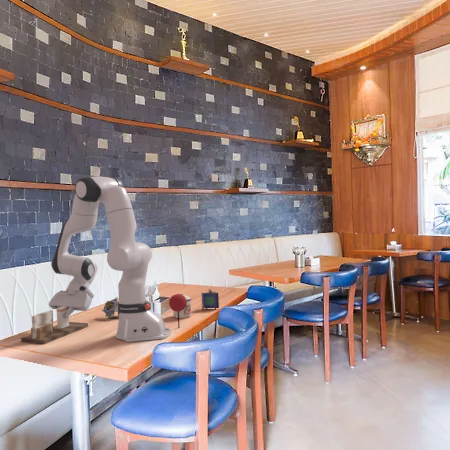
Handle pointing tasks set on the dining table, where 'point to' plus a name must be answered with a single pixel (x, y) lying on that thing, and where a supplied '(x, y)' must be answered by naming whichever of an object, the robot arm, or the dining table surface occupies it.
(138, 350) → the dining table surface
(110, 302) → the passion flower
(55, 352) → the dining table surface
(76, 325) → the board
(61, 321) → the white striped box
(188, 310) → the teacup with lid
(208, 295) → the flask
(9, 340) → the dining table surface
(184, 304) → the lollipop
